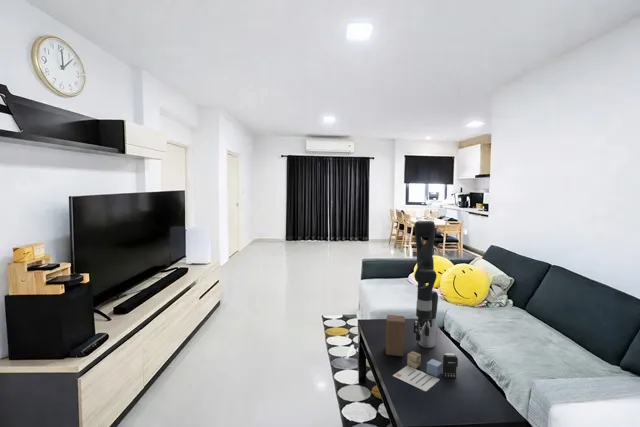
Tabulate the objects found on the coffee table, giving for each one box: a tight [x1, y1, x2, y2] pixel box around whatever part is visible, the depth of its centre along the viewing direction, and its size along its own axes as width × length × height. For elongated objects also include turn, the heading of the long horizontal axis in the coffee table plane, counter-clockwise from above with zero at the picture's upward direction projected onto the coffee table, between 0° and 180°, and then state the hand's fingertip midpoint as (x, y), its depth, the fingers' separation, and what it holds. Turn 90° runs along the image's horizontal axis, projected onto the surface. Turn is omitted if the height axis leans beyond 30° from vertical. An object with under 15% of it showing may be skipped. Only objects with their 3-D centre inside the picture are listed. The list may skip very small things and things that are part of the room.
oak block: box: [406, 350, 422, 369], centre depth 182 cm, size 5×5×6 cm
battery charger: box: [441, 353, 459, 379], centre depth 171 cm, size 7×4×11 cm, turn 88°
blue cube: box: [426, 358, 442, 378], centre depth 175 cm, size 6×6×6 cm
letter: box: [392, 364, 440, 392], centre depth 170 cm, size 14×18×1 cm
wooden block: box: [385, 314, 406, 357], centre depth 196 cm, size 10×10×20 cm
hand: (422, 338), depth 178 cm, fingers open, 8 cm apart
